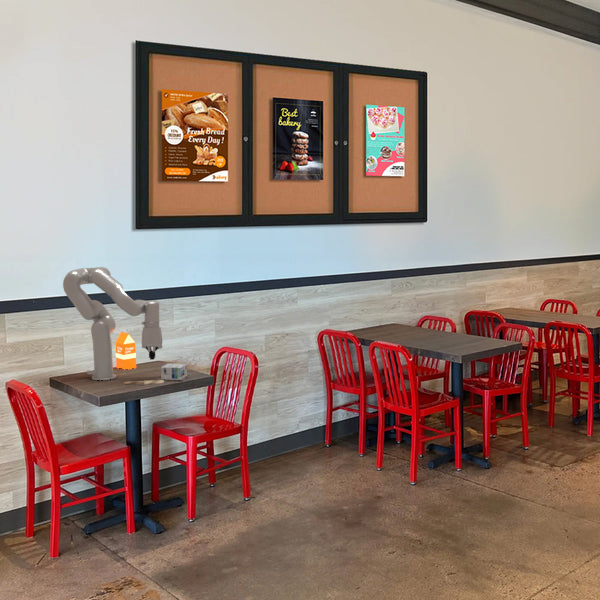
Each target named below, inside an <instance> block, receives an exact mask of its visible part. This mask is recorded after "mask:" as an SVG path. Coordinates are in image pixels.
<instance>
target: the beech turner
mask: <svg viewBox="0 0 600 600" xmlns="http://www.w3.org/2000/svg"><path fill="white" fill-rule="evenodd" d="M164 380H165V379H158V380H157V379H153V380H150V379H149V380H140V381H139V380H138V381H137V380H135V381H123V386H126V385H125V384H129V385H144V386H145V385H158V384H162V385H163V384H164V383H165V381H164Z"/></svg>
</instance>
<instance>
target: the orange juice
mask: <svg viewBox="0 0 600 600" xmlns="http://www.w3.org/2000/svg"><path fill="white" fill-rule="evenodd" d="M115 360H116V361H115V362H116V364H115V365H116V366H115V367H116V369H119V368H122V369H124V370H123V371H126V370H125V369H128V370H133V369H132V368H134V369H137V353H136V341H135V340H134V339H133V338H132V336H131V335H130V333H127V332H123V331H120V334H119V335H118V337H117V339H116V341H115ZM122 369H121V370H122Z"/></svg>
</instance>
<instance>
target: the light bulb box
mask: <svg viewBox="0 0 600 600" xmlns="http://www.w3.org/2000/svg"><path fill="white" fill-rule="evenodd" d="M160 372H161V373H160V377H161V378H160V380H165V379H168V380H181V379H183V378H184V377H185V376H187V374H188V363H166V364H164V365H162V366H161V367H160Z"/></svg>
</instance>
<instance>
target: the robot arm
mask: <svg viewBox="0 0 600 600" xmlns="http://www.w3.org/2000/svg"><path fill="white" fill-rule="evenodd" d="M63 278H64V279H63V282H62V288H63V291H64V293H65V295H66V296H67V298H68V299H69V300H70V302H71V303H72V304H73V306H74V307H75V308H76V310H77V311H78V313H79V314H80V315H81V317H82V318H83V319H84V320H86V321H93V323H92V324H91V327H90V334H91V338H92V339H91V340H92V348H93V350H92V352H93V368H94V369H93V370H86V374H87V375H88V376H89V375H91V380H93V381H97V380H100V381H101V380H103V381H110V379H111V380H114V379H116V378H117V374H115V373H114V366H113V365H114V364H113V363H114V362H113V361H114V360H113V345H112V337H111V334H112V333H113V332H114V331H115V330H116V327H117V326H116V324H117V323H116V321H115V319H114V318H113V316H112V315H111V313H110V312H109V311H108V310H107V309H106V307H105V305H103V303H102V302H100V301H99V300H95V299H93V300H92V299H91V297H90V296H88V294H87V292H86V291H85V290H83V288H81V286H83V285H89V284H94V285H95V286H96V287H98V289H100V290H101V291H102V292H104V293H105V294H106V295H108V297H109V298H111V299H112V301H113V302H114V304H116V305H117V307H119V308H120V309H121V310H122V311H124V312H125V313H126V314H128V315H129V316H131V317H137V316H140V315H142V314H144V321H142V322H141V325H142V326H143V327H142V330H141V331H142V332H141V349H145V350H147V352H148V358H149V360H152V361H153V360H155V358H156V351H157V350H160V349H162V348H163V335H162V334H163V333H162V329H161V328H162V327H161V326H160V302H159V301H157V300H145V299H144V300H143V299H135V300H134V299H132V298H131V297H130V296H129V295H128V294H127V293H126V292H125V290H124V286H123V284H121V283H120V282H119V281H118V280H117V279H115V278H114V277H113V276H111V271H110V270H109V269H108V268H107V267H103V266H99V267H98V266H96V267H83V268H77V269H73V270H70V271H69V272H68V273H66V275H65V277H63ZM101 382H102V381H101Z"/></svg>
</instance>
